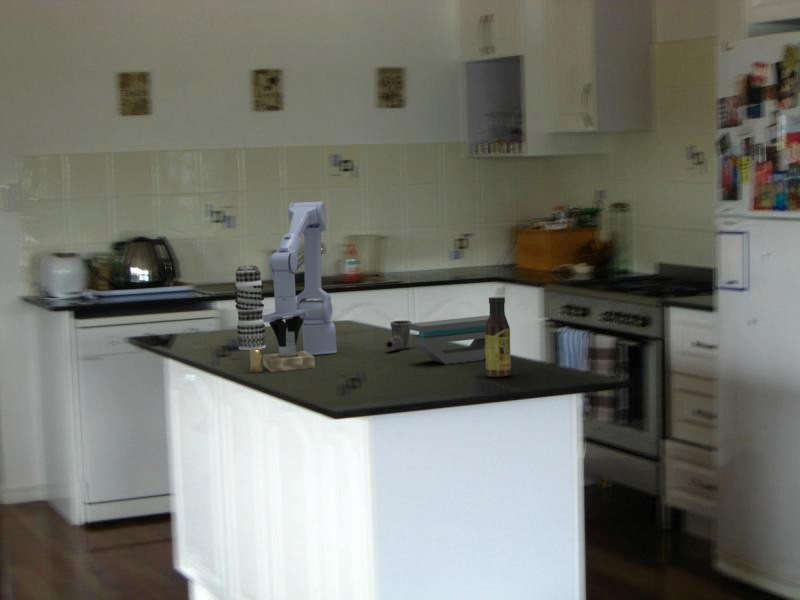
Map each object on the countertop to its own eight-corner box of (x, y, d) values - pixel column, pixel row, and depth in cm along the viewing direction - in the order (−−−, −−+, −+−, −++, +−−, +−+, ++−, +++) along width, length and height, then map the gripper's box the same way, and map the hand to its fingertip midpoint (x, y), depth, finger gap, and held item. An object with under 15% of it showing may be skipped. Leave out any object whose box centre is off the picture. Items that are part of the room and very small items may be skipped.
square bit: (288, 355, 348) (286, 330, 347) (296, 356, 345) (294, 331, 345) (279, 357, 345) (277, 332, 345) (287, 358, 343) (285, 332, 342)
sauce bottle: (503, 378, 312) (501, 298, 310) (481, 377, 316) (478, 298, 313) (515, 374, 318) (513, 295, 316) (493, 373, 321) (491, 295, 319)
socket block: (305, 361, 353) (305, 351, 353) (315, 367, 341) (314, 356, 341) (263, 365, 350) (262, 354, 349) (271, 371, 338) (270, 360, 338)
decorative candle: (263, 344, 391) (259, 264, 388) (270, 348, 382) (265, 266, 379) (234, 347, 388) (229, 266, 385) (240, 351, 379) (235, 268, 376)
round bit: (261, 370, 341) (260, 348, 340) (263, 372, 338) (262, 350, 337) (250, 371, 340) (248, 349, 340) (252, 373, 337) (250, 351, 336)
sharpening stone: (423, 367, 335) (421, 326, 334) (410, 363, 342) (408, 323, 341) (504, 357, 346) (503, 317, 345) (490, 353, 353) (489, 315, 352)
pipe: (380, 353, 363) (379, 325, 362) (397, 346, 375) (396, 319, 374) (400, 353, 361) (399, 326, 360) (416, 347, 372) (415, 320, 371)
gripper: (295, 292, 351) (298, 341, 353) (254, 298, 341) (257, 348, 343) (312, 293, 346) (315, 342, 348) (271, 299, 336) (274, 350, 338)
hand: (287, 345), depth 345 cm, fingers closed on square bit, 3 cm apart
